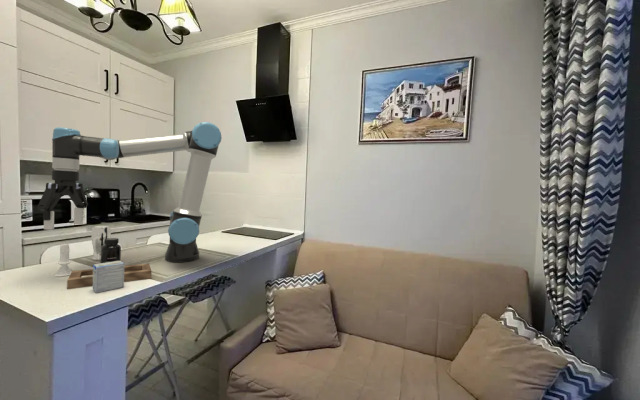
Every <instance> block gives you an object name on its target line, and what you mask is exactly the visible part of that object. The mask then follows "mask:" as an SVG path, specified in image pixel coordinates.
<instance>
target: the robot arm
mask: <svg viewBox="0 0 640 400" xmlns="http://www.w3.org/2000/svg"><path fill="white" fill-rule="evenodd" d="M52 130H53V132H52V138H51V140H52V141H51V143H52V144H51V145H52V148H51V149H52V163H51V166H52V169H54V170H51V180H52V181H54V182H46V184H45V189H44V191H43V194H42V195H41V198H40V200H39V203H38V204H37V207H36V209H37V210H39V211H40V212H42V220H43V230H48V231H53V230H54V231H55V211H54V210H53V209H54V208H55V207H56V205H57V204H58V202H59V201H60V199H61V198H62V197H64V196H68V197H69V199H70V200H71V201H72V202H73V204H74V206H75V207H73V208H74V210H73V211H74V214H73V224H74V225H83V224H84V209H86V208H88V206H89V202H88V199H87V197H86V194H85V191H84V186H83V183H79V181H80V172H79V170H80V157H82V156H83V157H93V158H101V159H103V160H108V161H113V160H116V159H122V158H123V159H124V158H130V157H138V156H147V155H156V154H164V153H165V154H167V153H174V152H181V151H182V152H183V151H187V152H188V153H190V156H189V157H190V158H189V161H188V162H189V163H188V165H187V169H186V174H185V179H184V183H183V186H182V189H181V195H180V198H179V202H178V207H176V208H174V209H173V210H172V211H171V212H170V215H169V227H168V229H167V232H168V233H167V234H168V236H169V243H168V246H167V248H166V251H165V254H164V260H165V261H167V262H170V263H186V262H192V261H193V262H194V261H195V260H196V261H197V260H199V259H200V251H199V247H198V244H197V238H198V236H199V233H200V225H201V220H202V216H203V215H202V213H201V212H200V209H201V205H202V201H203V196H204V193H205V189H206V185H207V179H208V175H209V172H210V167H211V163H212V160H213V159H215V158H216V157H217V154H218V149H219V146H220V143H221V142H222V139H223V138H222V132H221V130H220V129H219V127H218V126H217V125H216V124H214V123H212V122H210V121H202V122H199V123H197V124H196V125H194V127H193V128H192V130H187V131H183V132H182V133H181V134H170V135H160V136H159V135H158V136H150V137H149V136H147V137H140V138H139V137H138V138H132V139H131V138H129V139H120V140H119V139H118V140H117V139H114V138H113V139H112V138H109V137H96V136H88V135H87V136H85V135H81V132H80V130H78V129H75V128H69V127H60V126H59V127H55V128H54V129H52Z"/></svg>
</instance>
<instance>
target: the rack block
mask: <svg viewBox="0 0 640 400" xmlns="http://www.w3.org/2000/svg"><path fill="white" fill-rule="evenodd" d="M151 268H152V267H151V264H150V263H139V264H131V265H130V264H129V265H124V283H126V282H133V281H134V282H135V281H141V280H143V281H144V280H150V279H152V269H151ZM71 271H72V272H71V274H70V275H68V276H69V277H68V279H67V280H66V284H67V285H66V286H67V287H66V288H67V289H66V290H69V289H70V290H71V289H79V288H85V287H93V268H91V269H90V268H89V269H79V270H71Z"/></svg>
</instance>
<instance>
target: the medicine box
mask: <svg viewBox="0 0 640 400" xmlns="http://www.w3.org/2000/svg"><path fill="white" fill-rule="evenodd" d="M124 266H125V262H123V261H114V262H107V263H96V264H93V265H92V269H93V286H92V290H93V291H94V292H95V293H96V294H97V293H102V292H107V291H111V290H115V289H120V288H124V287H125V282H124Z"/></svg>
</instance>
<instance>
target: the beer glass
mask: <svg viewBox="0 0 640 400" xmlns="http://www.w3.org/2000/svg"><path fill="white" fill-rule="evenodd" d="M111 231H112V230H111V226H110V225H108V224H107V225H93V226H92V229H91V236H90V237H91V243H92V250H93V255H92V261H95V260H99V261H100V260H101V247H102V246H104V245H105V244H104V239H107V238H112V237H111V235H112V232H111Z"/></svg>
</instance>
